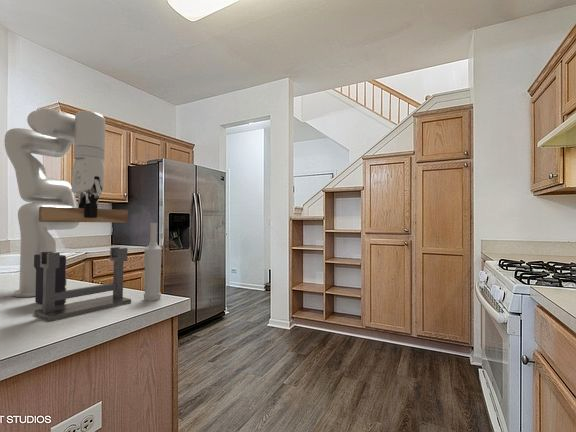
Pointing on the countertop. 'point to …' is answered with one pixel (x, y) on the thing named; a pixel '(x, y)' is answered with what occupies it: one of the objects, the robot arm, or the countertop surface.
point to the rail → (80, 215)
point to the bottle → (152, 267)
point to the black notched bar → (59, 279)
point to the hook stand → (80, 289)
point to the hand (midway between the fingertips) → (87, 216)
